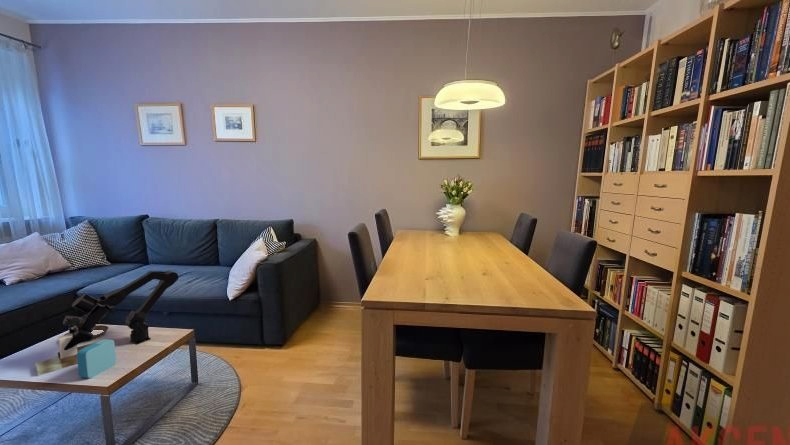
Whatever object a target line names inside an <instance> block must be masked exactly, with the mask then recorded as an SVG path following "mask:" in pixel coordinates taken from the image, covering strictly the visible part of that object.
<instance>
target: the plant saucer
mask: <svg viewBox="0 0 790 445" xmlns="http://www.w3.org/2000/svg"><path fill="white" fill-rule="evenodd" d="M108 329H109V326H107V325H101V324H96V325H95V326H94V327H93V328H92V331H93V330H103V331H104V332H102V333H100V334H97V335H93V339H94V340H96V338H97V339H99V338H101V337H102V336H104V335H105V334H106V333H107V331H108ZM68 334H69V331H68V332H66V333H65V334H63V335H62V336H64V335H68ZM93 339H92V340H91V341H94V340H93ZM86 342H88V341H84V342H83V343H86Z"/></svg>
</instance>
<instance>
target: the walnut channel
mask: <svg viewBox="0 0 790 445" xmlns="http://www.w3.org/2000/svg"><path fill="white" fill-rule="evenodd" d="M96 342H97V341H94V342H92V343H91V342H90V343H87V344H84V345H80V346H77V353H78V351H79V350H81V349H83V348H85V347H87V346H90V345H92V344H94V343H96ZM34 365H35V370H36V373H37V376H38V377H39V376H42V375H45V374H49V373H53V372H55V371H58V370H62V369H65V368H68V367H71V366H75V365H78V363H77V354H76V355H72V356H69V357H66V358H62V359H61V358H60V351H58V352H57V356H55V357H52V358H49V359H46V360H45V359H44V360H42V361H38V362H35V364H34Z"/></svg>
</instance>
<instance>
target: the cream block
mask: <svg viewBox="0 0 790 445" xmlns="http://www.w3.org/2000/svg"><path fill="white" fill-rule="evenodd" d="M73 334H74V333H73ZM63 335H64V336H63ZM63 335H60V336H57V337H58V338H57V339H58V347H59V348H58V349H59V352H60V358H61V359H62V358H66V357H69V356H72V355H76V354H77V347H78V345H76V346H74V347H72V348H70V349H68V350H64V348H65V346H66V345H67V344H68V343H69V341H70V340H71V339H72V334H68V335H65V334H63Z"/></svg>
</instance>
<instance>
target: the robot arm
mask: <svg viewBox="0 0 790 445" xmlns="http://www.w3.org/2000/svg"><path fill="white" fill-rule="evenodd" d="M179 277H180V276H179V274H178V273H177V272H175V271H173V270H163V271H161V270H160V271H159V270H158V271H157V270H149V271H147V272H146V273H145V274H143V275H141V276H140V277H138V278H136V279H135V280H133V281H131V282H129V283H127V284H125V285H124V286H123V287H120V288H117V289H113V290H112V291H108V292H107V293H105V294H104V295H101V296H97V297H95V298H94V297H92V296H91V295H89V294H88V293H84V294H83V295H81V296H80V297H78V298H76V299H75V300H74V301H73V302H72V304H71V307H72V308H74V309H76V310H79V311H81V312H83V313H87V312H88V313H87V314H84V315H83V316H81V317H80V316H74V315H65V317H64V319H63V321H62V324H63V326H65V327H66V326H68V332H69V334H72V339H71V340H70V341H69V343H68V344H67V345H66V346H65V348H64V350H68V349H70V348H72V347H74V346H76V345H77V346H78V345H79V344H82V343H85V342H84V341H87V342H91V341H93V340H92V339H93V334H92V333H91V332H92V328H93V327H94V326H96V325H100V323H101V322H100V321H101V320H102V319H103V318H105V317H106V315H107V314H108V313H109V312H110V313H112V314H115V313H116V312H115V306H117V305H119V304H120V303H122V302H123V301H124V300H125V299H126V298H128V296H129V295H130V294H132V293H134V292H135V291H137V290H138V289H139V288H142V287H143V286H145V285H146V284H148V283H150V282H152V281H153V280H159V281H158V284H157V285H156V286H155V288H154V289H153V290H152V292H150V294H149V295H148V297H147V298H145V300H144V302H143V303H142V304H141V306H140V307H139V308H138V309H136V310H131V311H130V312H129V314H127V316H125V321H124V323H125V325H126V326H127V328H129V329H131V331H130V334H129V338H130V341H129V343H132V344H135V345H138V344H141V343H144V342H146V341H149V340H151V337H149V336H150V335H149V326H150V325H149V324H147V323H146V322H145V321H146V318H147V316H148V313H149V312H150V311H151V309H152V308H153V307H154V306H155V305H156V303H157V302H158V300H160V298H161V297H162V295H163V294H164V292H166V290H167V289H169V288H170V287H172V286H173V285H174V284H175V283H176V282H178V280H179ZM73 333H74V334H73Z"/></svg>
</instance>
